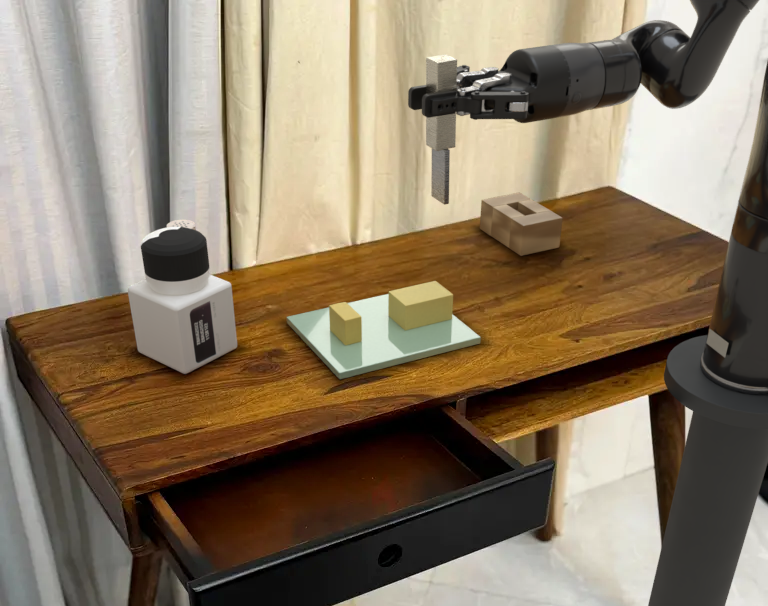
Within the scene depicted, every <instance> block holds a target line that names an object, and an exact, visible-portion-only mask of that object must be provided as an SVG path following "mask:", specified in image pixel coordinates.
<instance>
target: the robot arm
mask: <svg viewBox="0 0 768 606" xmlns="http://www.w3.org/2000/svg"><path fill="white" fill-rule="evenodd" d="M689 2H690V4H691V6H692V7H693V10H694V12H695V13H696V16H697V19H696V23H695V26H694V29H693V31H692V33H691V36H689V35H688V34H687V33H686V32H685V31H684V30H683V29H682V28H681V27H680V26H678V25H677V24H676V23H673V22H671V21H669V20H661V19H653V20H649V21H645V22H643V23H642V24H639V25H637V26H635V27H633V28H631V29H629V30H627V31H625V32H623V33H621V34H619V35H617V36H616V37H613V38H611V39H604V40H596V41H590V42H563V43H557V44H548V45H540V46H534V47H527V48H519V49H516V50H514V51H512V52H511V53H510V54H509V55H508V57H507V58H506V60H505V61H504V63H503V66H502V67H501V68H500V70H499V68H498V67H496V66H488V67H482V68H481V70H474V71H470V70H471V69H470V68H471V67H470V66H469V65H467V64H462V65H459V66H457V94H456V91H454V90H450V91H444V92H436V93H429V94H426V84H422V85H415V86H411V87H409V89H408V91H407V94H408V95H407V106H408V108H409V109H410V110H413V111H418V110H419V111H420V110H421V114H422V116H424V117H425V118H426V117H427V118H430V117H436V116H442V115H449V114H455V112H456V116H460V117H464V116H468V115H469V118H470V119H471V120H474V121H476V120H514V121H515V122H517V123H520V124H528V123H529V124H530V123H535V122H540V121H547V120H553V119H558V118H563V117H570V116H574V115H578V114H581V113H583V112H586V111H591V110H597V109H604V108H609V107H613V106H618V105H621V104H624V103H626V102H628V101H630V100H631V99H632V98H633V97H635V95H636V94H637V92H638V90H639V88H640V87H641V85H642V86H643V87H644V88H645V89H646V90H647V91H648V92H649V93H650V94H651V95H652V96H653V97H654V98H655V99H656V100H657V101H658V102H659V103H660V104H661V105H662V106H664V107H666V108H668V109H671V110H678V109H683V108H684V107H685V108H686V107H687V106H689V105H691V104H692V103H694V102H695V101H697V100H698V99H700V97H701V96H703V94H704V93H705V92H706V91H707V89H708V88H709V86H710V85H711V84H712V82H713V80H714V79H715V77H716V74H717V73H718V70H719V68H720V66H721V65H722V63H723V60H724V59H725V56H726V54H727V52H728V50H729V49H730V47H731V45H732V43H733V40H734V39H735V36H736V34H737V33H738V31H739V28H740V27H741V25H742V23H743V22H744V20H745V19H746V17H748V15H749V14H750V13H751V11H753V9H754V8H755V7H756V6H757V4H758V3H759V2H760V0H689ZM746 165H747V166H746V169H745V173H744V176H743V181H742V183H741V184H742V185H741V188H740V193H739V197H738V200H737V203H736V204H737V205H736V209H735V214H734V218H733V221H732V227H731V231H730V235H729V240H728V244H727V249H726V253H725V257H724V262H723V266H722V270H721V273H720V274H721V275H720V279H719V283H718V288H717V293H716V296H715V300H714V305H713V309H712V314H711V317H710V323H709V327H708V331H707V335H708V336H707V340H706V344H705V347H704V352H703V354H702V357H701V362H700V368H701V371H702V372H703V374H704V375H705V376H706V377H707V378H708V379H709V380H711V381H712V382H714V383H715V384H717V385H719V386H721V387H723V388H726V389H729V390H732V391H735V392H739V393H744V394H751V395H768V59H767V60H766V65H765V71H764V75H763V81H762V88H761V93H760V98H759V105H758V109H757V116H756V121H755V128H754V133H753V139H752V144H751V148H750V152H749V157H748V161H747V164H746Z"/></svg>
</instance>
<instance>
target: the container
mask: <svg viewBox="0 0 768 606" xmlns="http://www.w3.org/2000/svg"><path fill="white" fill-rule="evenodd" d="M139 245H140V251H141V258H142V263H143V270H144V277H145V278H144V279H142V280H140V281H138V282H135V283H132V284H131V285H128V287H127V295H128V302H129V308H130V313H131V318H132V319H131V320H132V325H133V331H134V336H135V342H136V348H137V352H138V353H140V354H142V355H143V356H146V357H147V358H150V359H152V360H154V361H156V362H158V363H161V364H163V365H165V366H166V367H168V368H171V369H173V370H175V371H177V372H178V373H181V374H182V375H187V374H189V373H191V372H193V371H195V370H197V369H200V367H203V366H205V365H207V364H209V363H210V362H212V361H215V360H216V359H219V358H220V357H222V356H224V355H226V354H229V353H230V352H231V351H234V350H236V349H237V348H238V338H237V336H238V335H237V328H236V327H237V326H236V318H235V317H236V316H235V309H234V298H233V296H234V295H233V286H232V283H231V282H230V281H228V280H226V279H223V278H220V277H217V276H215V275H213V274H211V268H210V260H209V251H208V250H209V249H208V241H207V237H206V236H205V235H204V234H203V233H201V231H198V230H197V229H196V230H194V229H190V228H185V227H167V226H166V227H163V228H158V229H156V230H154V231H152V232H150V233H147V234H146V235H145V236H144V237H143V239H142V240H141V242H140V244H139Z"/></svg>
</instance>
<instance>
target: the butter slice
mask: <svg viewBox="0 0 768 606" xmlns="http://www.w3.org/2000/svg"><path fill="white" fill-rule="evenodd" d="M347 303H348V302H346V301H343V302H338V303H333V304H329V305H328V307H329V317H330V331H331V332H332V333H333V334H334V335H335V336H336V337H337V338H338V339H339V340H340V341H341V342H342V343H343V344H344V345H350V344H354V343H358V342H362V317H361V316H360V315H359V314H358V313H357V312H356V311H355V310H354V309H353V308H352V307H351V306H350V305H348V304H347Z"/></svg>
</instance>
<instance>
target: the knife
mask: <svg viewBox="0 0 768 606" xmlns="http://www.w3.org/2000/svg"><path fill="white" fill-rule="evenodd" d="M457 67H458V59H457V58H455V57H453V56H451V55H449V54H446V53H445V54H438V55H433V56H427V57H426V58H425V85H426V94H429V93H436V92H444V91H450V90H454V91H456V94H457ZM456 136H457V114H456V112H455V114H449V115H442V116H436V117H430V118H427V117H425V145H426V146H427V147H429V148H430V149H431V185H430V186H431V192H430V193H431V195H430V196H431V197H432V198H433V199H436V200H437V201H438V202H439V203H441V204H442V205H449V204H450V163H451V162H450V161H451V160H450V158H451V157H450V156H451V154H450V153H451V149H453V148H456V145H457V144H456V143H457V141H456V139H457V137H456Z"/></svg>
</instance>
